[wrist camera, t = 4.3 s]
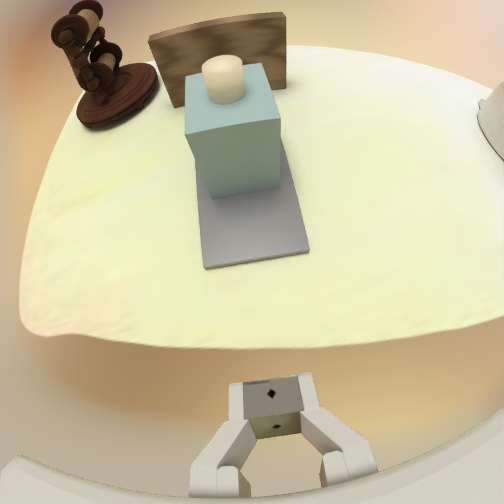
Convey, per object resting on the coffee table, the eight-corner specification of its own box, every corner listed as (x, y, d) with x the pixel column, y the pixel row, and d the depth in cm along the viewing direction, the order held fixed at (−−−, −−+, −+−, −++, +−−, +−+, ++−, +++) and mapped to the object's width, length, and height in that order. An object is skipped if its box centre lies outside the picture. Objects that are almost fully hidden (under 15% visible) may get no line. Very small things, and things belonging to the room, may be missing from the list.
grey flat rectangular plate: (265, 90, 34) (264, 86, 33) (308, 252, 26) (309, 249, 25) (194, 103, 34) (193, 98, 33) (205, 269, 27) (203, 267, 26)
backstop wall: (282, 80, 34) (282, 11, 23) (286, 88, 34) (286, 17, 22) (174, 99, 35) (150, 35, 23) (174, 108, 34) (147, 41, 23)
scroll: (93, 89, 39) (50, 16, 20) (163, 64, 39) (131, -25, 20) (74, 144, 35) (7, 60, 16) (156, 115, 34) (103, 0, 15)
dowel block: (265, 131, 30) (259, 36, 18) (279, 187, 28) (280, 87, 15) (206, 141, 30) (177, 51, 18) (211, 198, 28) (173, 106, 16)
